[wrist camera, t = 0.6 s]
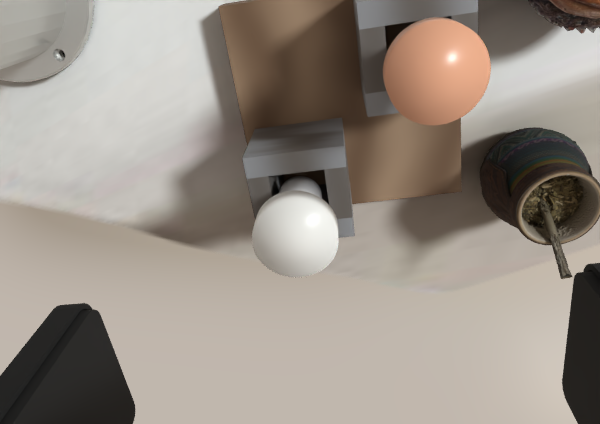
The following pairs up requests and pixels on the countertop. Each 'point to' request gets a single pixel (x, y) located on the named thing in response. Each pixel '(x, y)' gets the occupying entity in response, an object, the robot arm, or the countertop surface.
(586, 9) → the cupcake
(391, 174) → the board
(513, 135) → the mate gourd
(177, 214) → the countertop surface
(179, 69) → the countertop surface
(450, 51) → the orange rounded piece
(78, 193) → the countertop surface
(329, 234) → the white round part
